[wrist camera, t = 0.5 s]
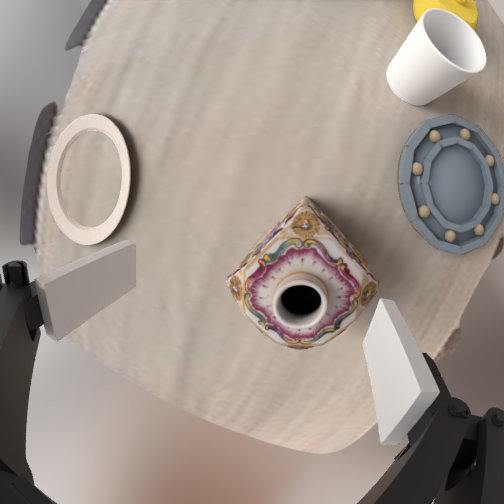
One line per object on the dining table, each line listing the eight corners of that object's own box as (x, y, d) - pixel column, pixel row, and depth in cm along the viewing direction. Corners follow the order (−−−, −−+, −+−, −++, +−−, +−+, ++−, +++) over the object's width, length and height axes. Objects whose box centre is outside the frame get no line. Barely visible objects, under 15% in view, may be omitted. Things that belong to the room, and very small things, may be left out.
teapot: (418, -18, 20) (432, -48, 10) (467, 13, 20) (490, -10, 9) (399, 34, 26) (419, 1, 16) (456, 71, 25) (488, 49, 15)
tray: (404, 101, 30) (410, 97, 27) (501, 144, 27) (510, 144, 24) (385, 232, 36) (390, 236, 33) (483, 259, 32) (490, 263, 30)
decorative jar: (303, 303, 41) (294, 380, 24) (249, 249, 41) (205, 300, 24) (362, 251, 37) (397, 306, 20) (307, 192, 37) (304, 203, 20)
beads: (414, 110, 29) (419, 107, 27) (500, 149, 26) (506, 148, 24) (397, 227, 34) (401, 229, 32) (484, 252, 31) (489, 255, 29)
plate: (88, 265, 49) (81, 268, 47) (42, 176, 47) (35, 177, 45) (162, 185, 41) (155, 186, 39) (100, 90, 39) (93, 88, 37)
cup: (426, 60, 27) (470, 17, 11) (439, 107, 28) (496, 79, 13) (380, 56, 28) (410, 1, 13) (393, 104, 30) (436, 66, 15)
